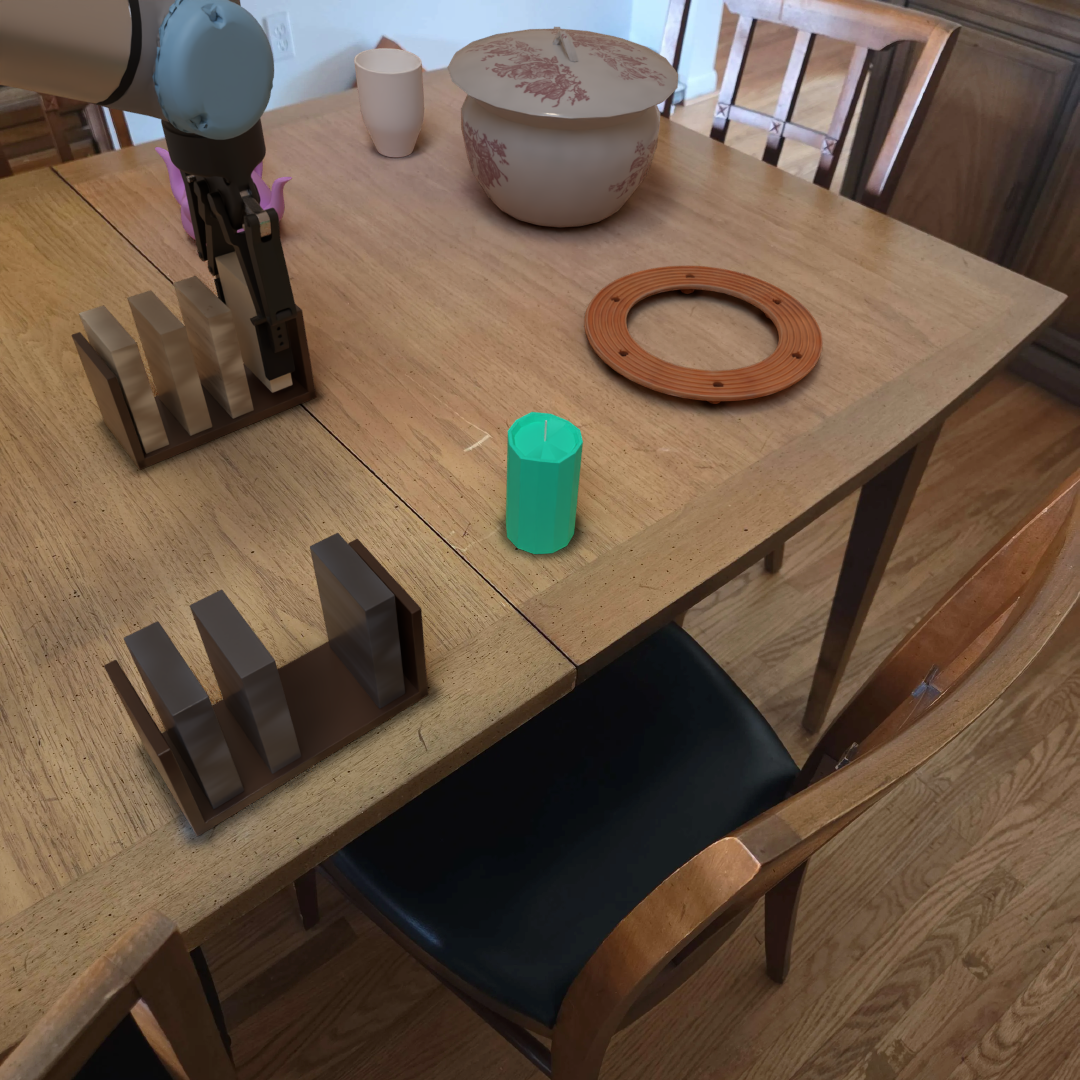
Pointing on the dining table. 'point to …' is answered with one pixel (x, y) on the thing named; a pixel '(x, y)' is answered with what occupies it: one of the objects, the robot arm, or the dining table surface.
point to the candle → (542, 482)
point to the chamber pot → (560, 120)
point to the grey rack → (275, 687)
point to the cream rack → (181, 373)
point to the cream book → (245, 319)
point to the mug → (391, 98)
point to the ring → (757, 380)
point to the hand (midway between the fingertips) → (261, 354)
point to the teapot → (267, 196)
